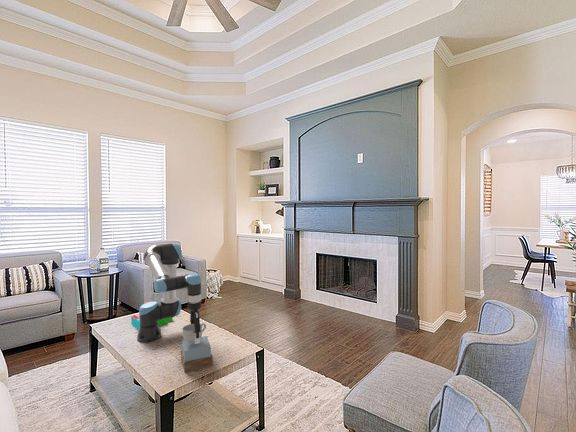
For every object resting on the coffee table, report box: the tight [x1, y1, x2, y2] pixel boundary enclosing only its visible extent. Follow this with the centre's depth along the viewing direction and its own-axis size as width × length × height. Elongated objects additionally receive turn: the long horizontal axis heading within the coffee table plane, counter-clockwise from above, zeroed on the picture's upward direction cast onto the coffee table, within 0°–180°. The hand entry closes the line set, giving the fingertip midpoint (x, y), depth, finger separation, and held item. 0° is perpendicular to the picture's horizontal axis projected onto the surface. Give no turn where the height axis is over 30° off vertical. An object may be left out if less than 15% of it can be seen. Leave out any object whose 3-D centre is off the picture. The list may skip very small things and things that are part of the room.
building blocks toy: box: [130, 300, 174, 330], centre depth 234 cm, size 19×25×18 cm
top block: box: [181, 335, 212, 362], centre depth 174 cm, size 14×14×6 cm
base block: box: [180, 350, 214, 373], centre depth 174 cm, size 15×15×6 cm
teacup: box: [181, 323, 207, 342], centre depth 174 cm, size 14×11×8 cm
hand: (195, 339), depth 174 cm, fingers closed on teacup, 11 cm apart
